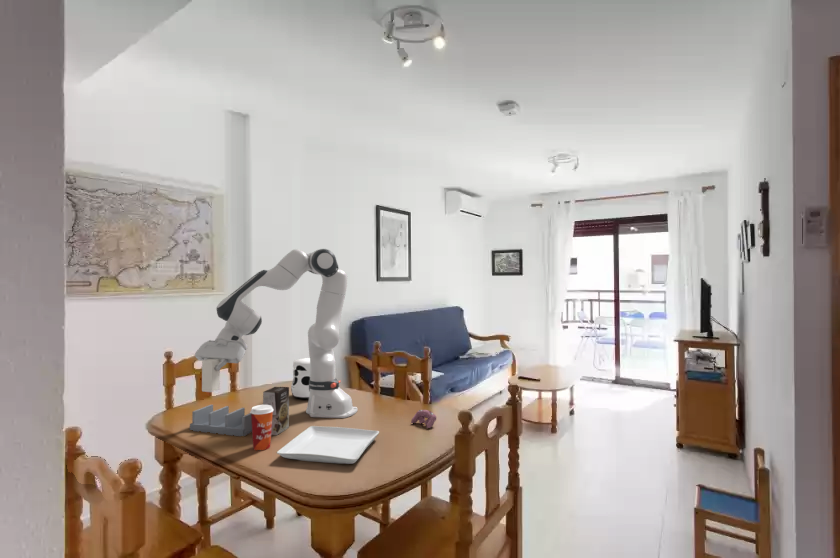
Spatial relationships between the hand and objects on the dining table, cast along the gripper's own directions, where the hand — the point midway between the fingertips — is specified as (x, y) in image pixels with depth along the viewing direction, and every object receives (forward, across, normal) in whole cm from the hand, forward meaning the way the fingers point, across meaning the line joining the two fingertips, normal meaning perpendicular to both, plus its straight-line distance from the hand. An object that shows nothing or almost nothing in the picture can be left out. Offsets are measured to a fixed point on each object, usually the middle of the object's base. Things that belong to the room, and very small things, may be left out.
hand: (209, 369), depth 174 cm
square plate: (+22, +57, +11) cm, 62 cm away
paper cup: (+25, +33, +7) cm, 42 cm away
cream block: (+6, 0, +6) cm, 8 cm away
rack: (+15, +8, +16) cm, 24 cm away
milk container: (-20, +15, +53) cm, 58 cm away
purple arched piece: (-2, +81, +34) cm, 88 cm away
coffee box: (+14, +28, +19) cm, 36 cm away
